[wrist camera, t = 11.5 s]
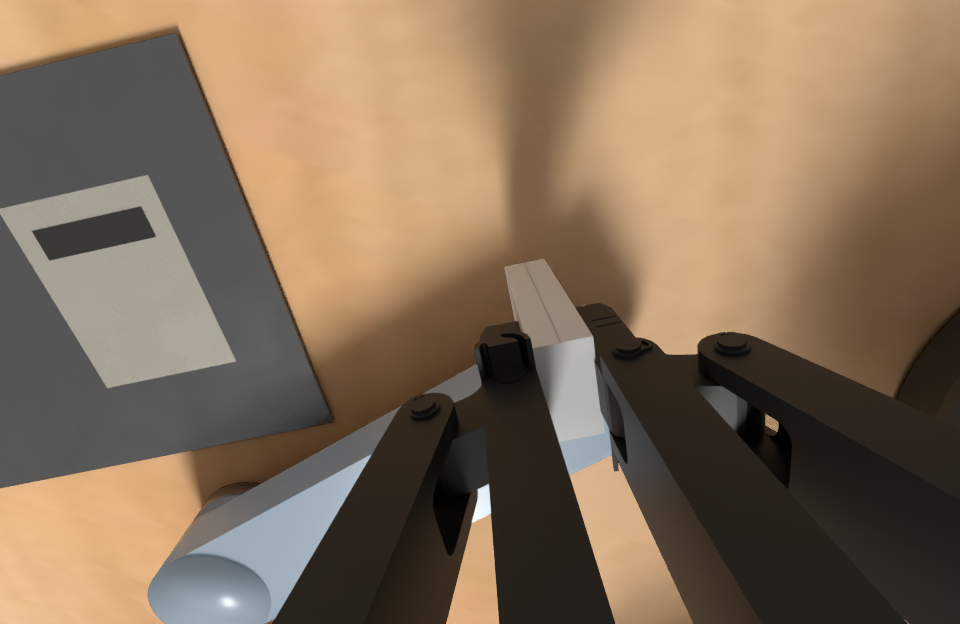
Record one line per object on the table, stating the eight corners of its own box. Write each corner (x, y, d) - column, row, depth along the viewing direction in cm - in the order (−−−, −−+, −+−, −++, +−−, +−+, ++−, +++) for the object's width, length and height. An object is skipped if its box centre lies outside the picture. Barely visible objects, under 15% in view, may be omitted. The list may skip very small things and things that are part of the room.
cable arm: (635, 393, 19) (661, 435, 17) (236, 595, 23) (207, 654, 20) (583, 301, 18) (604, 331, 15) (163, 536, 21) (121, 592, 19)
